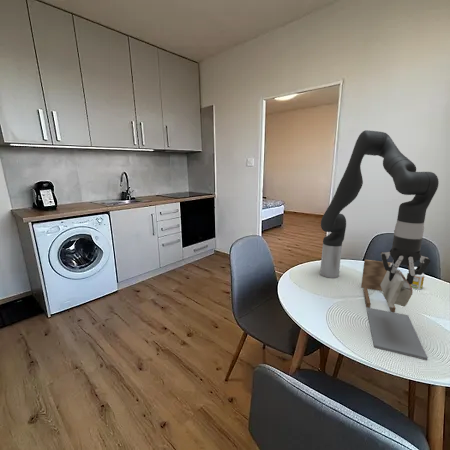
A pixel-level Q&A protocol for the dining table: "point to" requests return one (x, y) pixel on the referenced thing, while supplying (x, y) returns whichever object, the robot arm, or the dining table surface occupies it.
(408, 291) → the packaged product
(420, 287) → the supplement bottle
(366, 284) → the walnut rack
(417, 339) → the charcoal pad
